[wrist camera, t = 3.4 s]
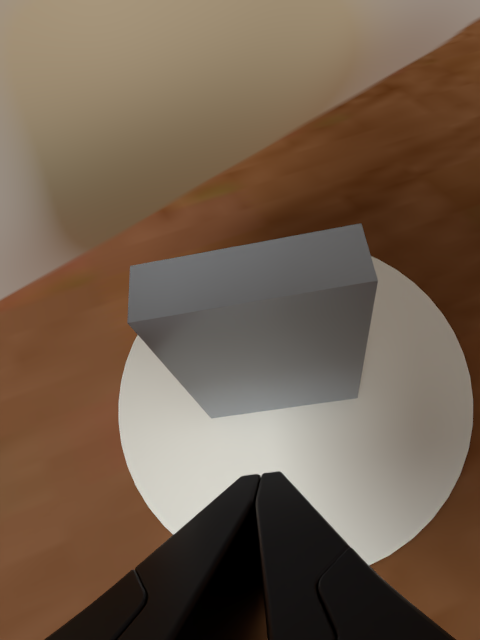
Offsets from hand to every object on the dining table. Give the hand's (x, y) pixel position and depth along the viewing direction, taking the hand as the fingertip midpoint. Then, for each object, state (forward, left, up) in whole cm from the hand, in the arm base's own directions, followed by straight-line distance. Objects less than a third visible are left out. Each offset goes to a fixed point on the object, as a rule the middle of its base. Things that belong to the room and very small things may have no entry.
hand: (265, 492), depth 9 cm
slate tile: (+2, -6, -11) cm, 12 cm away
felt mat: (+2, -6, -11) cm, 13 cm away
